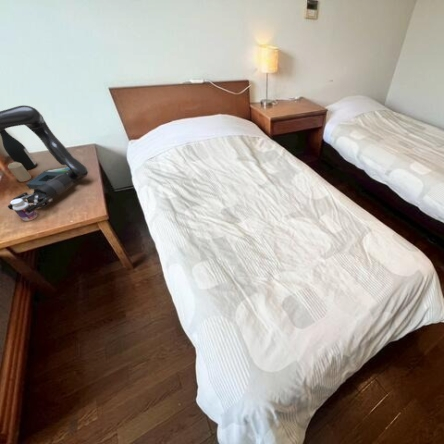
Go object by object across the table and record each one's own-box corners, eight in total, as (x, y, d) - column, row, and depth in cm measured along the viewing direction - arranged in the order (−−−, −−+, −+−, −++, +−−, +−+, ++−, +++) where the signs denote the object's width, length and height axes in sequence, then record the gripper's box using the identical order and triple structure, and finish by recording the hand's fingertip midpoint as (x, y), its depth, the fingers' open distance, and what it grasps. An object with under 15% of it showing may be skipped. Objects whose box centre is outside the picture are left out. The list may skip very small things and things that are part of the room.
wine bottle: (32, 162, 149) (-5, 111, 128) (41, 166, 147) (4, 114, 126) (16, 168, 143) (-25, 115, 123) (25, 172, 141) (-16, 119, 121)
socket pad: (29, 188, 131) (25, 184, 129) (47, 175, 140) (44, 171, 138) (55, 190, 132) (51, 185, 130) (71, 177, 141) (68, 172, 139)
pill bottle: (33, 220, 114) (19, 204, 108) (19, 221, 114) (4, 205, 107) (40, 213, 118) (27, 197, 112) (27, 213, 117) (13, 197, 111)
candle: (26, 175, 139) (13, 159, 132) (34, 177, 138) (22, 161, 131) (15, 180, 135) (2, 164, 128) (24, 182, 134) (11, 166, 127)
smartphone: (45, 170, 143) (77, 165, 150) (46, 171, 144) (78, 166, 150) (45, 176, 139) (77, 170, 145) (45, 177, 139) (78, 171, 146)
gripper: (32, 181, 121) (-3, 200, 109) (59, 185, 120) (26, 206, 108) (42, 193, 126) (9, 213, 114) (67, 198, 125) (37, 218, 113)
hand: (18, 209), depth 111 cm, fingers open, 8 cm apart
